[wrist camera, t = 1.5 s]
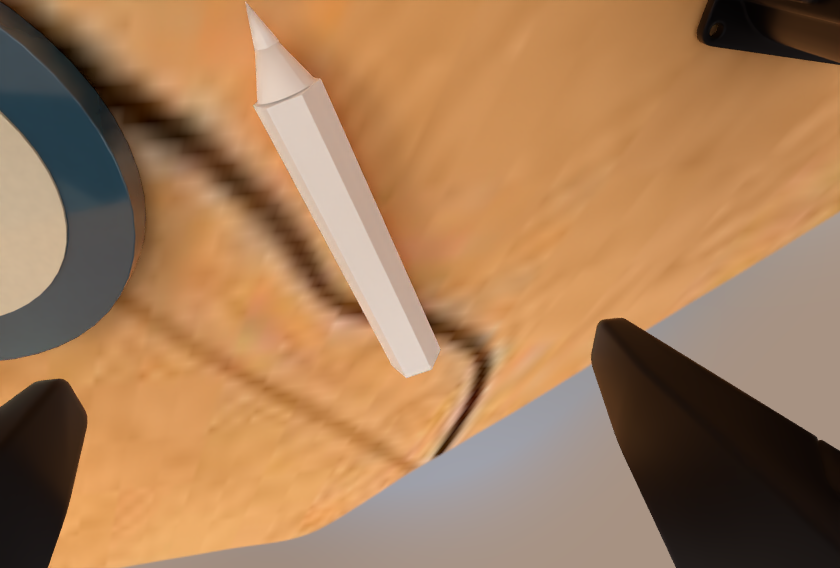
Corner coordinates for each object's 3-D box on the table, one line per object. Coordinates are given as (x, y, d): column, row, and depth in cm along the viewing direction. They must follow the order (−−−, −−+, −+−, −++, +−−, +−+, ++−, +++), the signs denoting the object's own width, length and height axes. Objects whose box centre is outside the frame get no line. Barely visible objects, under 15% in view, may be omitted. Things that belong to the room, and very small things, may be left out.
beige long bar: (256, -9, 18) (418, 334, 27) (198, 18, 17) (385, 360, 26) (287, -16, 16) (451, 356, 25) (223, 14, 15) (416, 386, 24)
